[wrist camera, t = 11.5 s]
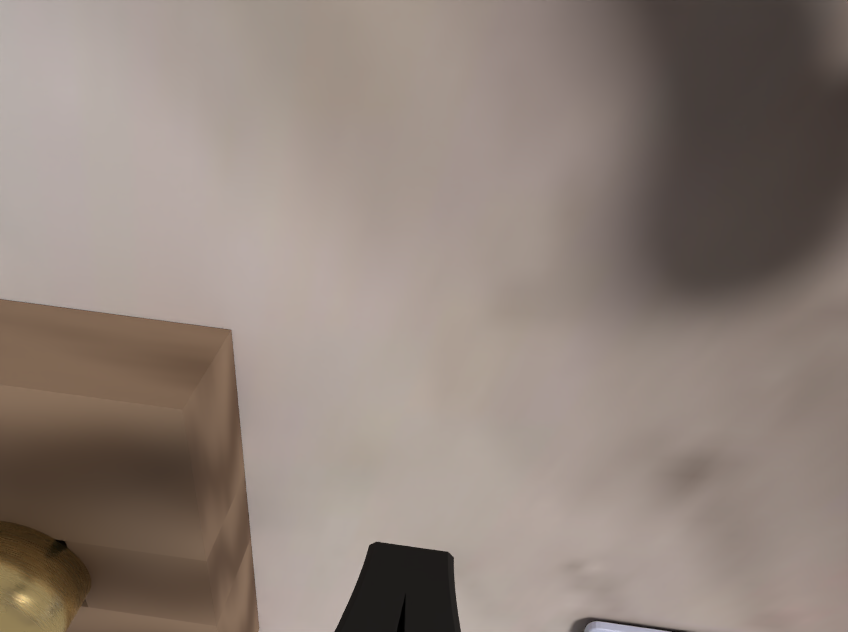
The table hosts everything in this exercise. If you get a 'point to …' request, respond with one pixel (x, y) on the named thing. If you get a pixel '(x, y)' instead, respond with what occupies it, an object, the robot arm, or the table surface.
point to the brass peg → (38, 581)
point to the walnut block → (130, 464)
